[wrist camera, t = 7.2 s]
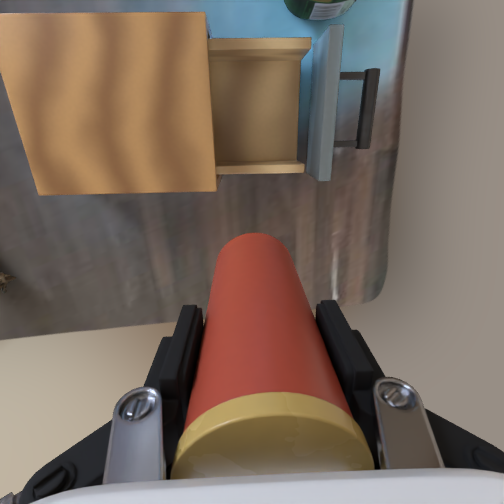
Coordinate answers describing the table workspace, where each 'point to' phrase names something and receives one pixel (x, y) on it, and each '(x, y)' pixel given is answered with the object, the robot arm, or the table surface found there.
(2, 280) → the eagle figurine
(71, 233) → the table surface
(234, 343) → the tin
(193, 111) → the cabinet
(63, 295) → the table surface
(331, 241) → the table surface
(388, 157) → the table surface
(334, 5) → the coffee jar
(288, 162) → the drawer
